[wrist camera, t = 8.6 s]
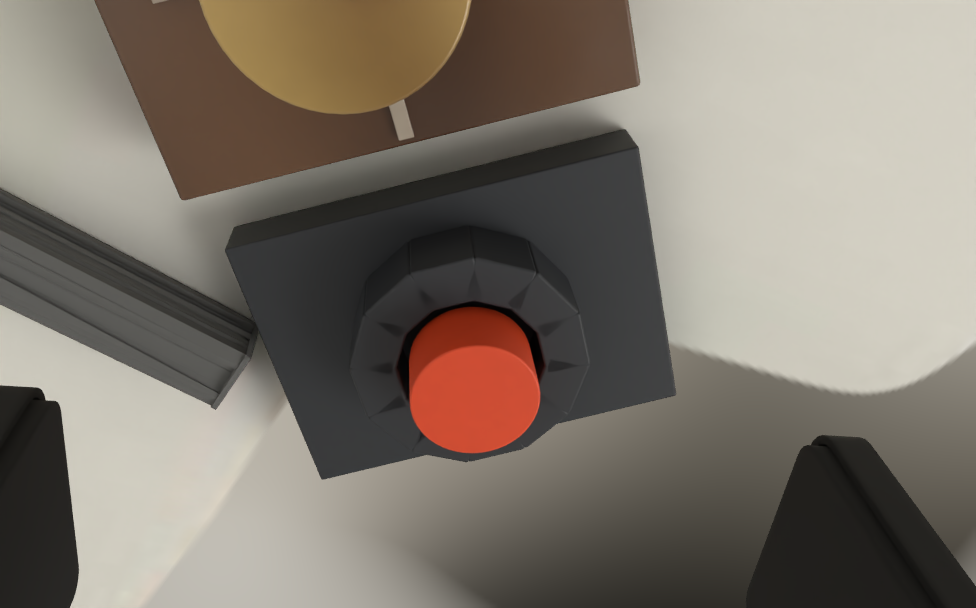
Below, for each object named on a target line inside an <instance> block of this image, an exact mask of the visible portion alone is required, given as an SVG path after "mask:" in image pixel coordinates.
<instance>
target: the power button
mask: <svg viewBox="0 0 976 608" xmlns="http://www.w3.org/2000/svg"><path fill="white" fill-rule="evenodd" d="M409 392H410V410H411V414H412V417H413V419H414V422H415V423H416V425H417V427H418V428H419V429H420V431H421V432H422V433H423V434H424V435H425V436H426V437H427V438H428V439H429V440H431V441H432V442H434V443H435V444H437V445H439V446H441V447H443V448H446V449H449V450H452V451H456V452H462V453H482V452H487V451H492V450H495V449H498V448H501V447H503V446H506V445H507V444H509V443H511V442H513V441H514V440H516V439H517V438H518V437H520V436H521V435H522V434H523V433H524V432H525V431H526V430H527V429H528V428H529V426H530V425H531V423H532V422H533V420H534V418H535V416H536V414H537V412H538V408H539V404H540V387H539V383H538V378H537V374H536V370H535V366H534V362H533V358H532V353H531V349H530V345H529V342H528V339H527V337H526V335H525V333H524V332H523V331H522V329H521V328H520V327H519V326H518V325H517V324H516V323H515V322H514V321H513V320H512V319H510V318H509V317H507V316H506V315H504V314H502V313H500V312H498V311H495V310H492V309H488V308H483V307H462V308H457V309H453V310H450V311H447V312H445V313H442V314H440V315H439V316H437V317H435V318H433V319H432V320H431V321H430V322H428V323H427V324H426V325H425V326H424V327H423V328H422V329H421V330H420V332H419V333H418V334H417V336H416V338H415V340H414V341H413V344H412V347H411V350H410V355H409Z"/></svg>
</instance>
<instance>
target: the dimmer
mask: <svg viewBox="0 0 976 608" xmlns="http://www.w3.org/2000/svg"><path fill="white" fill-rule="evenodd" d="M94 1H95V3H96V5H97V8H98V10H99V12H100V15H101V17H102V19H103V21H104V24H105V26H106V28H107V31H108V33H109V35H110V37H111V40H112V42H113V44H114V47H115V49H116V51H117V54H118V56H119V58H120V60H121V63H122V65H123V67H124V70H125V72H126V74H127V77H128V79H129V81H130V83H131V86H132V88H133V90H134V93H135V95H136V97H137V99H138V102H139V104H140V106H141V109H142V111H143V113H144V116H145V118H146V120H147V122H148V125H149V127H150V129H151V132H152V134H153V136H154V138H155V141H156V143H157V145H158V148H159V150H160V152H161V155H162V157H163V159H164V161H165V164H166V166H167V168H168V171H169V173H170V175H171V177H172V180H173V182H174V184H175V187H176V189H177V191H178V194H179V196H180V198H181V199H182V200H188V199H192V198H196V197H200V196H204V195H208V194H212V193H216V192H220V191H224V190H228V189H232V188H236V187H240V186H243V185H247V184H251V183H255V182H259V181H263V180H267V179H271V178H275V177H279V176H283V175H287V174H291V173H295V172H299V171H303V170H307V169H311V168H315V167H319V166H323V165H327V164H331V163H335V162H339V161H343V160H347V159H351V158H355V157H359V156H363V155H367V154H370V153H374V152H378V151H382V150H386V149H390V148H394V147H398V146H402V145H406V144H410V143H414V142H418V141H422V140H426V139H430V138H434V137H438V136H442V135H446V134H450V133H454V132H458V131H462V130H466V129H470V128H474V127H478V126H482V125H486V124H490V123H494V122H497V121H501V120H505V119H509V118H513V117H517V116H521V115H525V114H529V113H533V112H537V111H541V110H545V109H549V108H553V107H557V106H561V105H565V104H569V103H573V102H577V101H581V100H585V99H589V98H593V97H597V96H601V95H605V94H609V93H613V92H617V91H621V90H625V89H628V88H632V87H636V86H638V85H639V84H640V77H639V70H638V63H637V57H636V50H635V43H634V36H633V29H632V22H631V16H630V9H629V2H628V0H471V5H470V10H469V15H468V19H467V22H466V24H465V27H464V30H463V33H462V36H461V38H460V40H459V42H458V44H457V46H456V48H455V50H454V51H453V53H452V54H451V56H450V57H449V59H448V60H447V62H446V63H445V65H444V66H443V67H442V68H441V69H440V70H439V72H438V73H437V74H436V75H435V76H434V77H433V78H432V79H431V80H430V81H429V82H427V83H426V84H425V85H424V86H423V87H422V88H421V89H419V90H418V91H416V92H415V93H413V94H412V95H410V96H409V97H407V98H405V99H403V100H401V101H399V102H397V103H395V104H393V105H390V106H387V107H384V108H381V109H378V110H374V111H369V112H364V113H357V114H328V113H321V112H316V111H311V110H307V109H304V108H301V107H298V106H294V105H292V104H289V103H287V102H285V101H283V100H281V99H279V98H276V97H275V96H273V95H271V94H270V93H268V92H267V91H265V90H263V89H262V88H260V87H259V86H258V85H256V84H255V83H254V82H253V81H251V80H250V79H249V78H248V77H246V76H245V75H244V74H243V73H242V72H241V71H240V70H239V69H238V68H237V67H236V66H235V65H234V64H233V62H232V61H231V60H230V59H229V57H228V56H227V55H226V54H225V52H224V51H223V50H222V48H221V47H220V45H219V43H218V42H217V40H216V39H215V37H214V35H213V34H212V32H211V30H210V28H209V25H208V23H207V21H206V19H205V17H204V14H203V11H202V8H201V5H200V2H199V0H94Z"/></svg>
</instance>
